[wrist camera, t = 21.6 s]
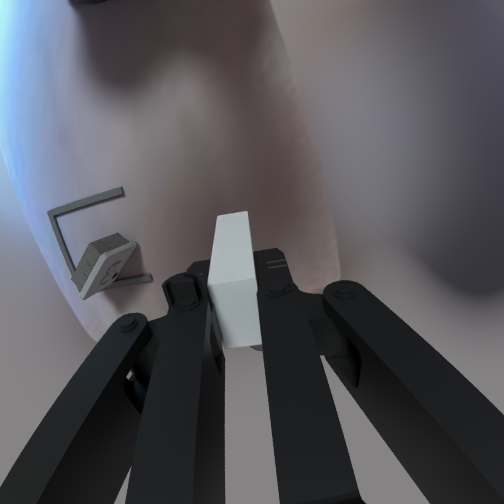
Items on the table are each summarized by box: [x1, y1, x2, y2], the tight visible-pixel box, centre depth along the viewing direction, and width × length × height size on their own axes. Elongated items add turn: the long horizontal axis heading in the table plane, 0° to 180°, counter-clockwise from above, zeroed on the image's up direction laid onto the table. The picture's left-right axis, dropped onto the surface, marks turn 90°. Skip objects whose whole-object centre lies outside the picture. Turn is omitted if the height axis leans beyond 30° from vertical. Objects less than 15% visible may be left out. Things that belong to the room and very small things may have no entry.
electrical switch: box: [71, 233, 137, 300], centre depth 43 cm, size 9×5×9 cm, turn 140°
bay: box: [47, 187, 152, 293], centre depth 46 cm, size 16×15×1 cm
